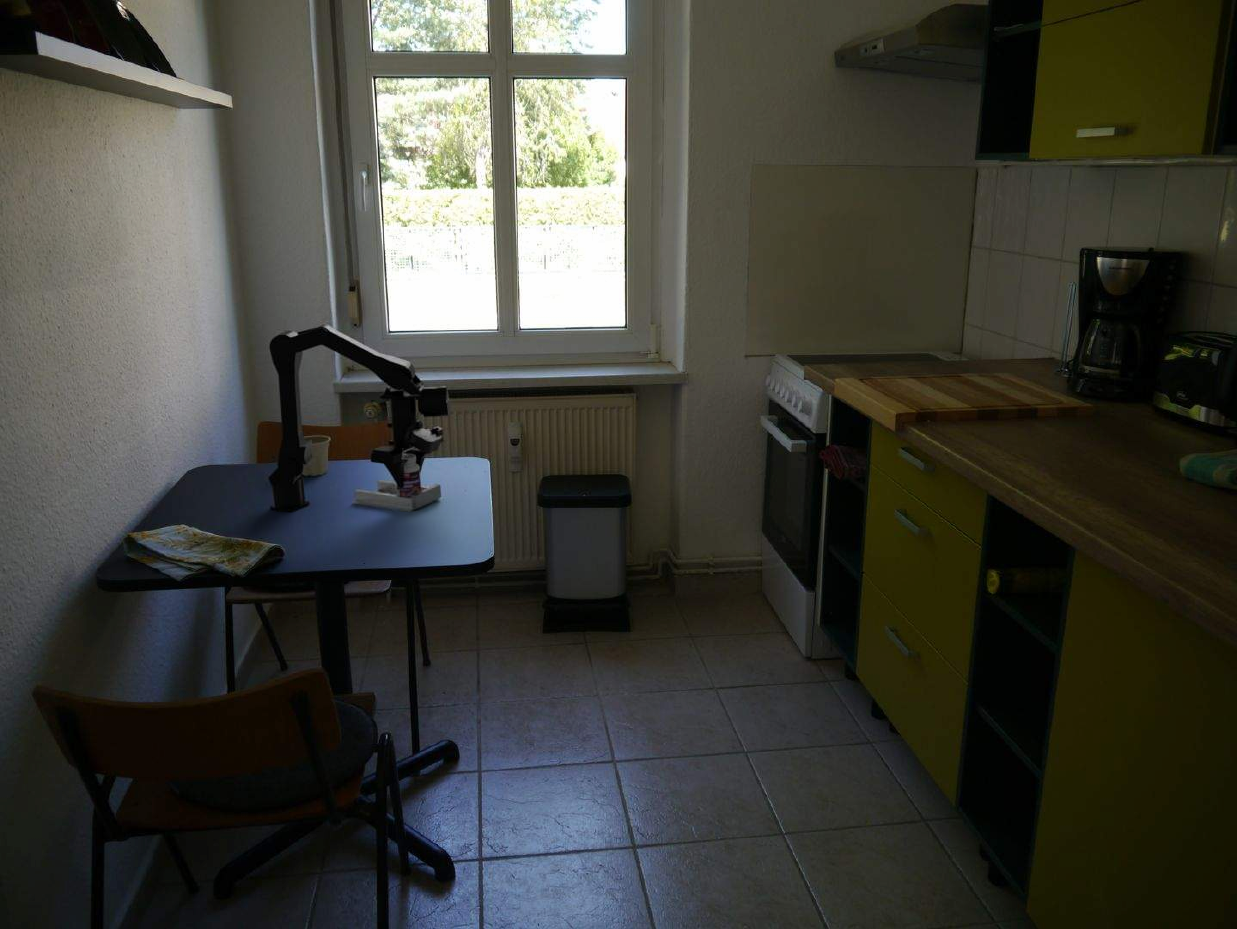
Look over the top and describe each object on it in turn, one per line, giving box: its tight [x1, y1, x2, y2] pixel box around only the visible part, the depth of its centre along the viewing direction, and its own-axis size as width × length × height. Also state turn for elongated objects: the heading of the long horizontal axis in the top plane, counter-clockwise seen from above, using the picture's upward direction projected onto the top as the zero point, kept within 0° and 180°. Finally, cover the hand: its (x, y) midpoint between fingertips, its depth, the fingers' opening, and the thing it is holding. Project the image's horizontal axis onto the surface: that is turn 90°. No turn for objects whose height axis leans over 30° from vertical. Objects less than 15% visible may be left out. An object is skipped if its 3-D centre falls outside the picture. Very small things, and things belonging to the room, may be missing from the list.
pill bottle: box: [397, 453, 422, 497], centre depth 234 cm, size 5×5×10 cm
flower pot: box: [302, 435, 331, 477], centre depth 260 cm, size 9×9×9 cm
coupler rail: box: [352, 479, 442, 513], centre depth 237 cm, size 11×17×4 cm, turn 64°
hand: (408, 484), depth 235 cm, fingers closed on pill bottle, 5 cm apart
